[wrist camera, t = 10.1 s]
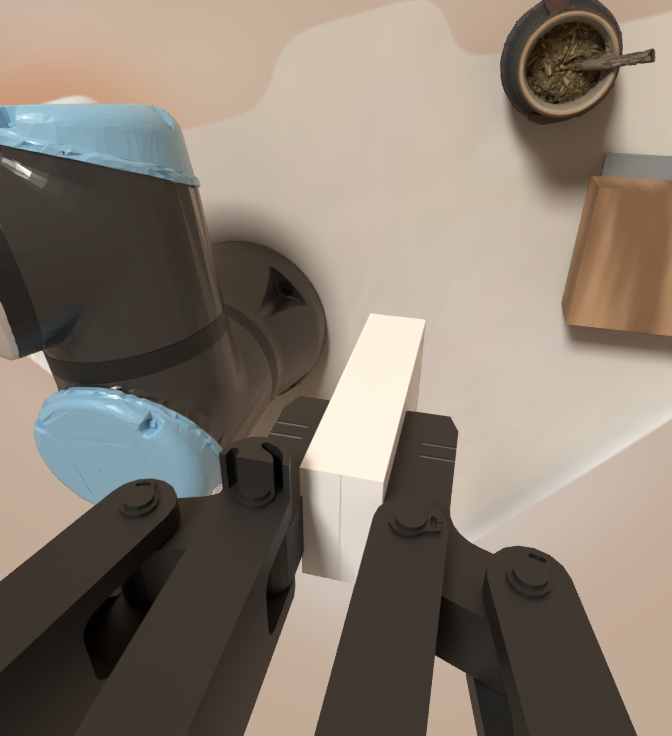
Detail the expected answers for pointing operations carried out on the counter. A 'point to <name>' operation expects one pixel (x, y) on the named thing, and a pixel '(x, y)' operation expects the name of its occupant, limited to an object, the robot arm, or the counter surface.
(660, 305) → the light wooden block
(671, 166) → the mat
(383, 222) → the counter surface
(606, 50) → the mate gourd
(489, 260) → the counter surface
